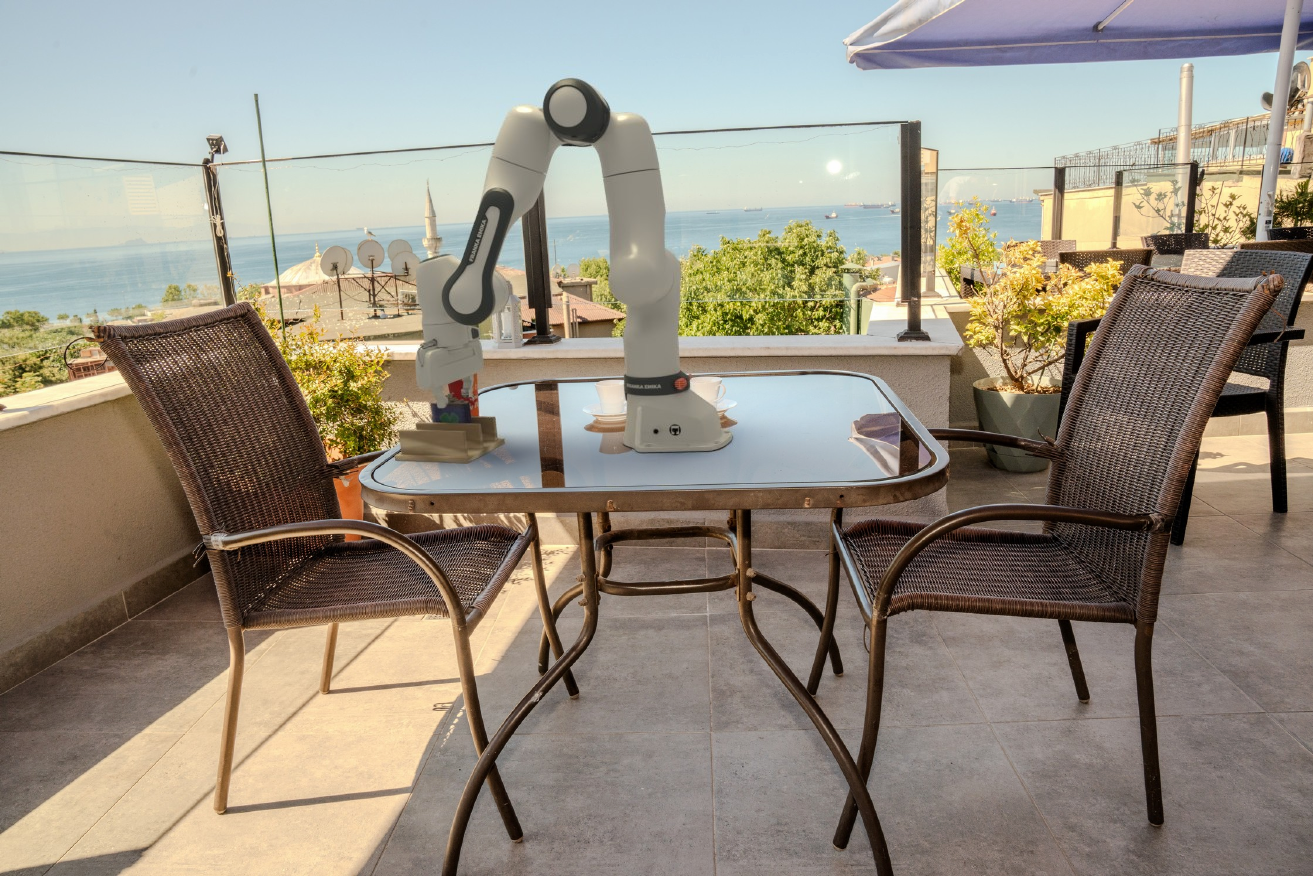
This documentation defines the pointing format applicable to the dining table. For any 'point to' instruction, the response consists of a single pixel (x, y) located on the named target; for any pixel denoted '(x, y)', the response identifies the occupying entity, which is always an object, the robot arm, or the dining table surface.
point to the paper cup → (473, 400)
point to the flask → (452, 411)
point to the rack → (449, 441)
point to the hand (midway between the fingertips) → (455, 402)
